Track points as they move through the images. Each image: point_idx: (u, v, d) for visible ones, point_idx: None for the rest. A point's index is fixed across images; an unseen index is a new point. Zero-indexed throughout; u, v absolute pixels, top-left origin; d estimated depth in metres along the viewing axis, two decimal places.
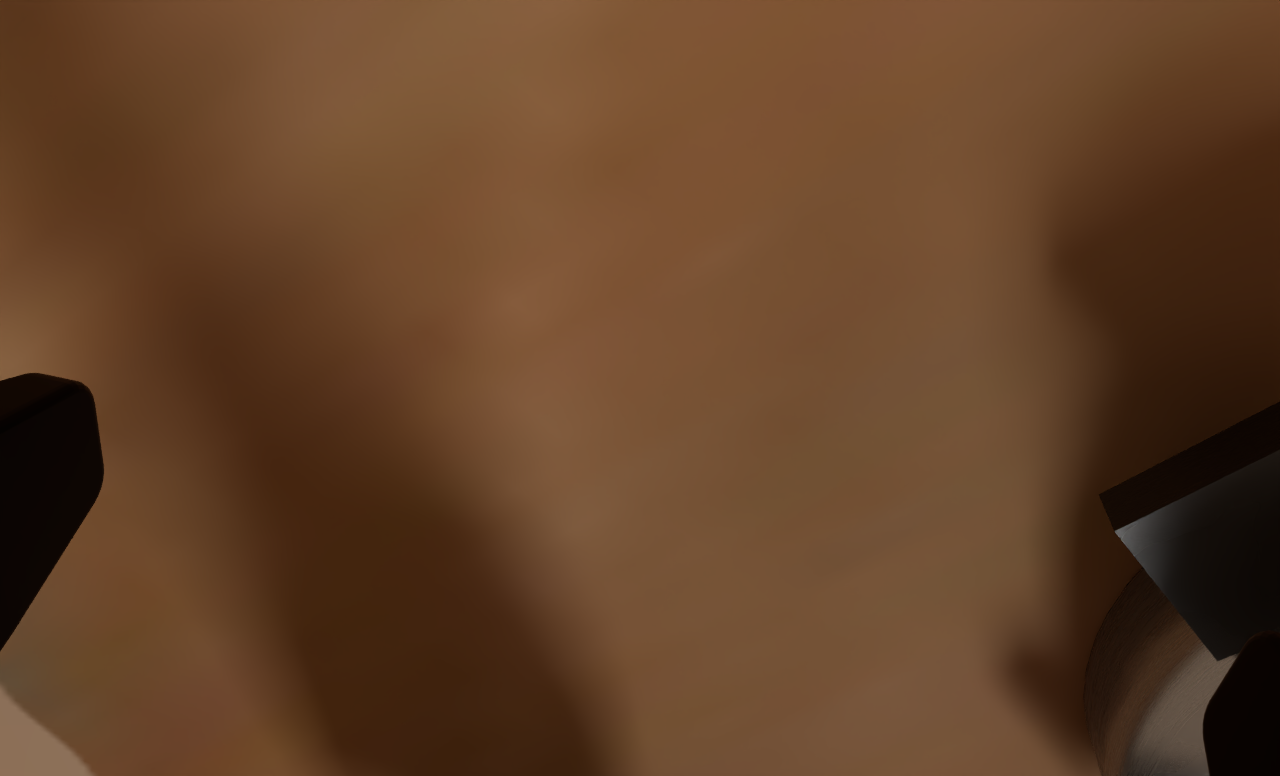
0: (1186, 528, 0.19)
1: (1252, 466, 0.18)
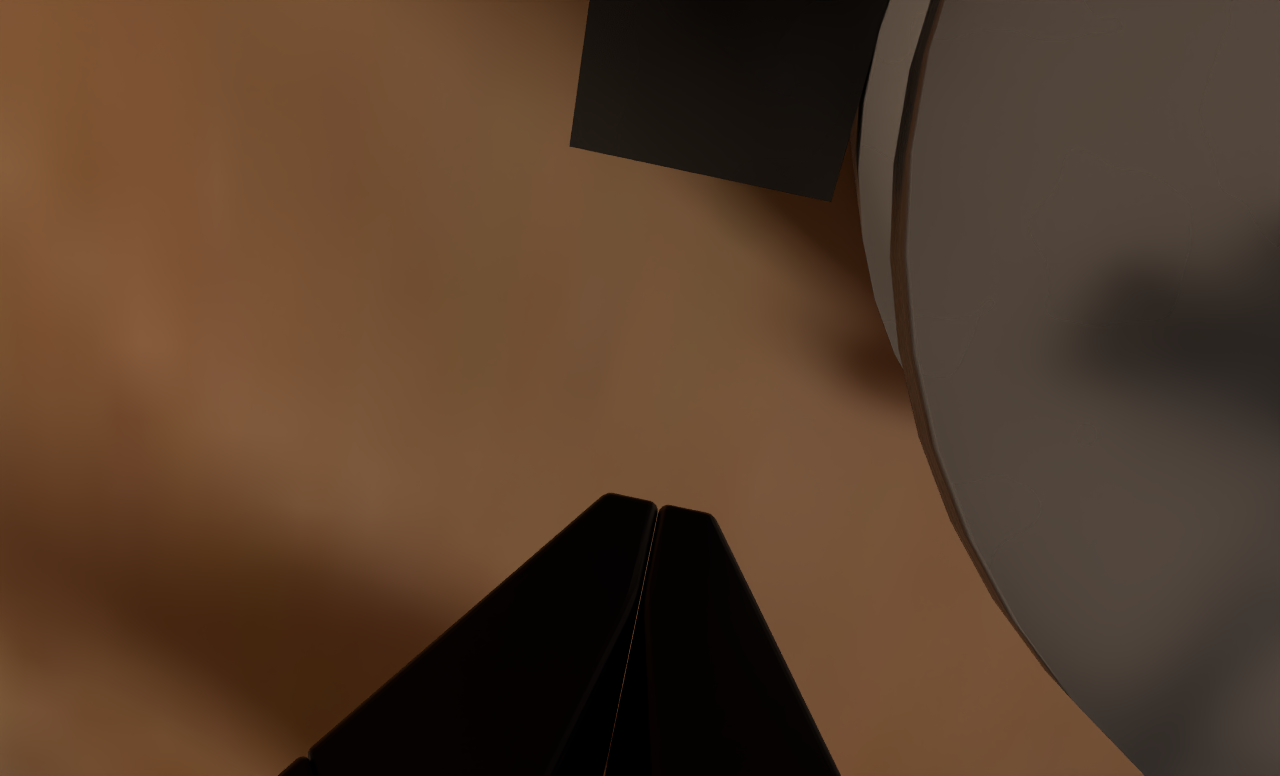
0: (624, 84, 0.15)
1: None
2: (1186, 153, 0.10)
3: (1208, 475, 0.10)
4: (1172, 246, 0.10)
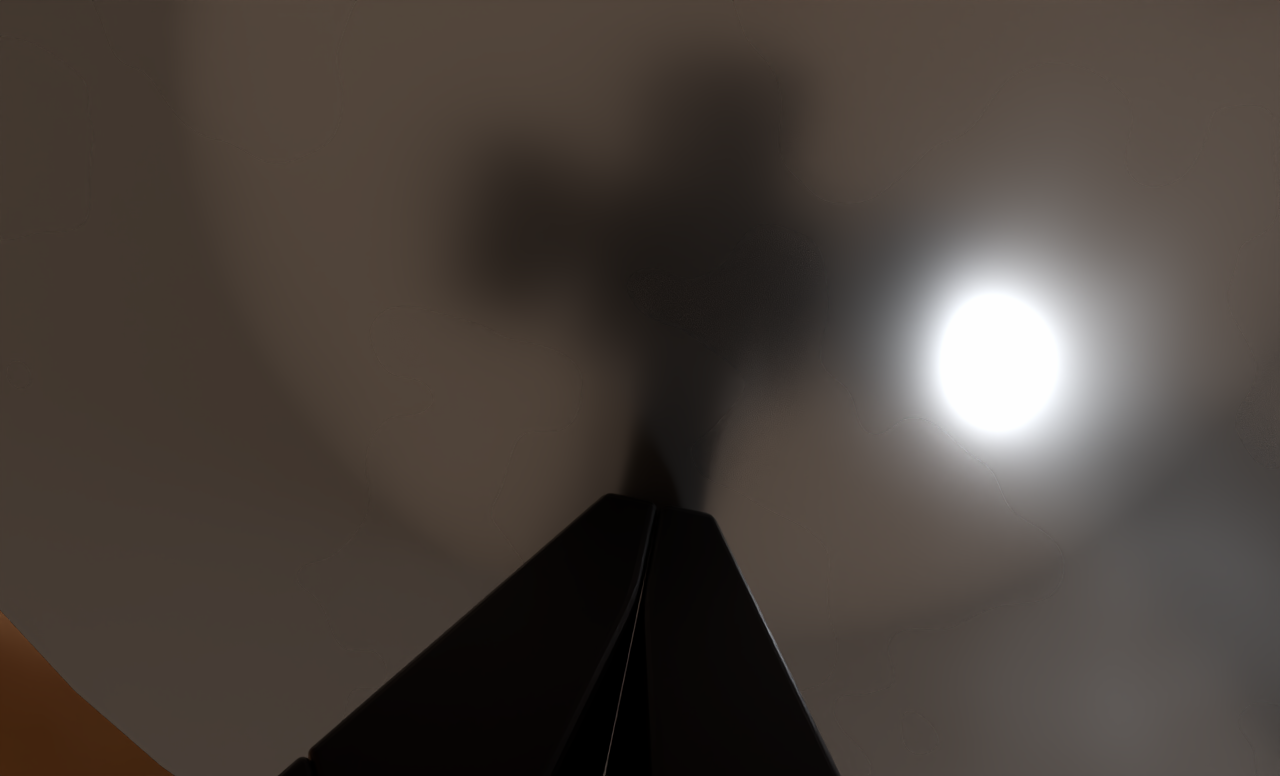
0: None
1: None
2: (67, 10, 0.07)
3: (168, 422, 0.08)
4: (71, 134, 0.08)
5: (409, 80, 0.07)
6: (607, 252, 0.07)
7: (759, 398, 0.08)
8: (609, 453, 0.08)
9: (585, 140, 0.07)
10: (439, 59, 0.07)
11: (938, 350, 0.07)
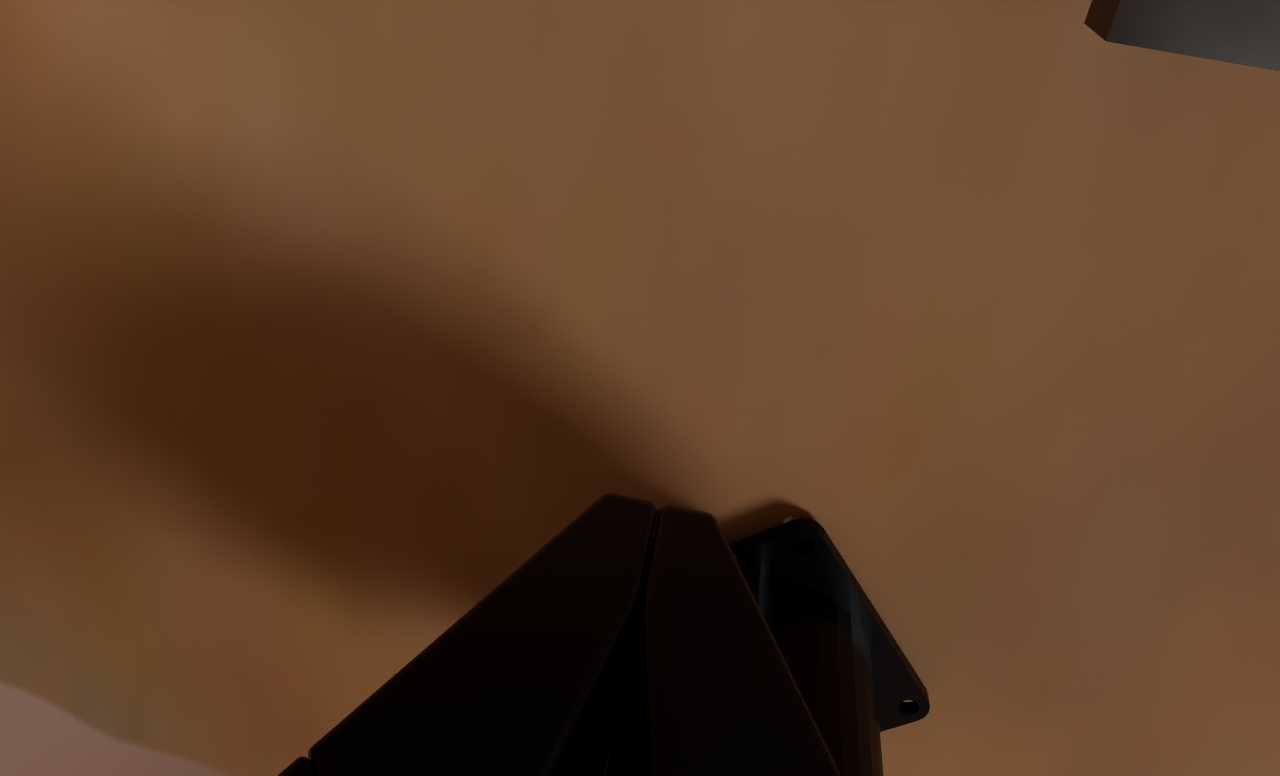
0: None
1: None
2: None
3: None
4: None
5: None
6: None
7: None
8: None
9: None
10: None
11: None
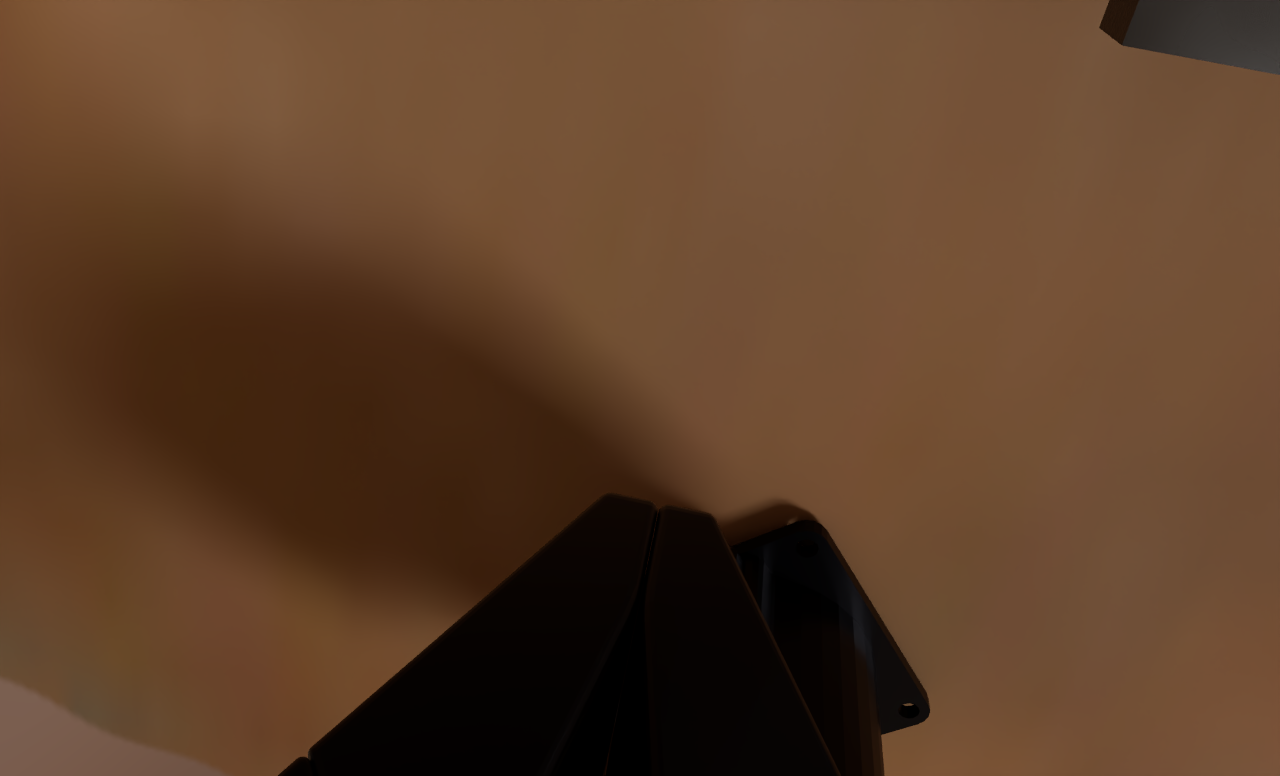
0: None
1: None
2: None
3: None
4: None
5: None
6: None
7: None
8: None
9: None
10: None
11: None
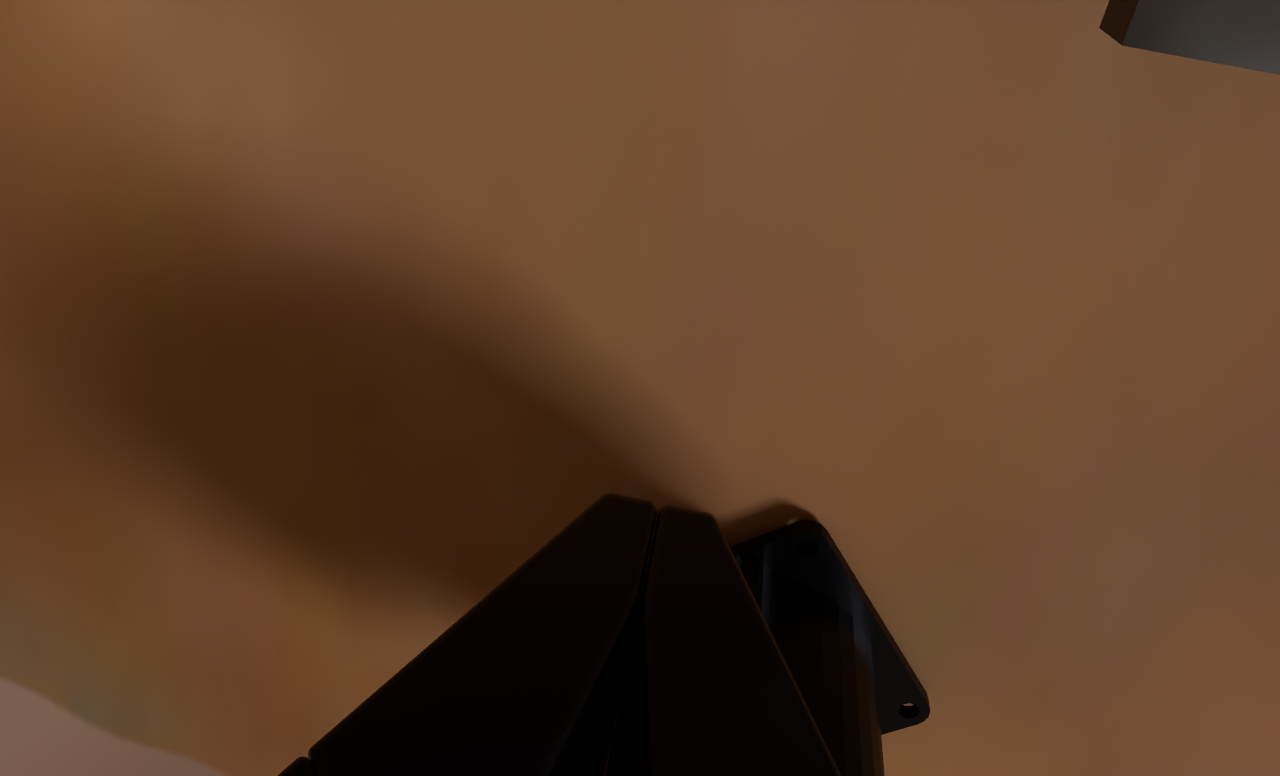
0: None
1: None
2: None
3: None
4: None
5: None
6: None
7: None
8: None
9: None
10: None
11: None
